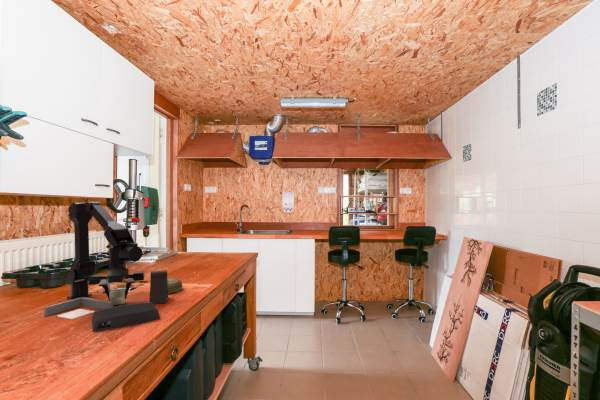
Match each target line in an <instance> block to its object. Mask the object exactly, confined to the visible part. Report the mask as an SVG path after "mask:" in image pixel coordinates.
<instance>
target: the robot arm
mask: <svg viewBox="0 0 600 400" xmlns="http://www.w3.org/2000/svg"><path fill="white" fill-rule="evenodd" d="M67 211H68V216H69V219H70V221H71V222H72V224H73V225H74V259H73V261H72V263H71V264H70V267H69V269H70V270H69V271H68V274H67V275H66V276H65V278H64V282H65V284H66V285H70V295H68V296H66V298H67V299H71V300H73V299H77V298H81V297H85V298H88V297H90V296H92V293H89V286H94V285H95V286H96V285H98V287H101V288H103V289H104V292H105V295H106V297H107V299H108V300H109V292H110V290H111V284H113V283H122V282H123V281H124V280H126V283H125V284H126V285H125V288H126V290H125V299H126V300H127V298H128V294H129V290H130V288H131V286H132V284H135V283H136V282H140V281H144V280H145V277H146V274H145V271H144V270H140V271H139V270H138V271H133V273H130V269H129V267H127V262H133V263H134V262H139V260H140V259H142V257H143V250H142V248H141V247H140V246H138V243H136V242H135V241H134V238H133V237H132V235H131V233H130V231H129V229H128V228H127V227H126V226H125V225H123V224H121V223H119V222H117V221H116V220H115V219H114V218H113V217H112V216H111V214H110V213H109V212H108V211H107V210H106V209H105V208H104V206H103V203H101V202H100V201H88V202H72V203H71V204H70V205H69V206H68V209H67ZM93 218H94V219H95V220H96V222H97V223H98V224H99V225H100V226H101V228H102V229H103V235H104V238H105V239H106V242H108V244H107V245H106V247H105V248H106V249H109V251H108V252H109V255H108V257H109V259H108V260H109V262H108V263H109V265H108V267H109V269H108V271H107V275H105V276H104V273H101V274H99V273H98V274H97V273H95V272H96V262H95V261H94V260H92V259H91V258H90V236H89V235H90V233H89V232H90V231H89V228H90V227H89V223H90V222H91V220H92V219H93Z"/></svg>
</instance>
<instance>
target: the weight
mask: <svg viewBox="0 0 600 400" xmlns="http://www.w3.org/2000/svg"><path fill="white" fill-rule="evenodd" d="M167 281H168V294H173V293H176V292H179V291H181V290H182V289H183V282H182V281H181V279H179V278H175V277H167Z"/></svg>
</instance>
